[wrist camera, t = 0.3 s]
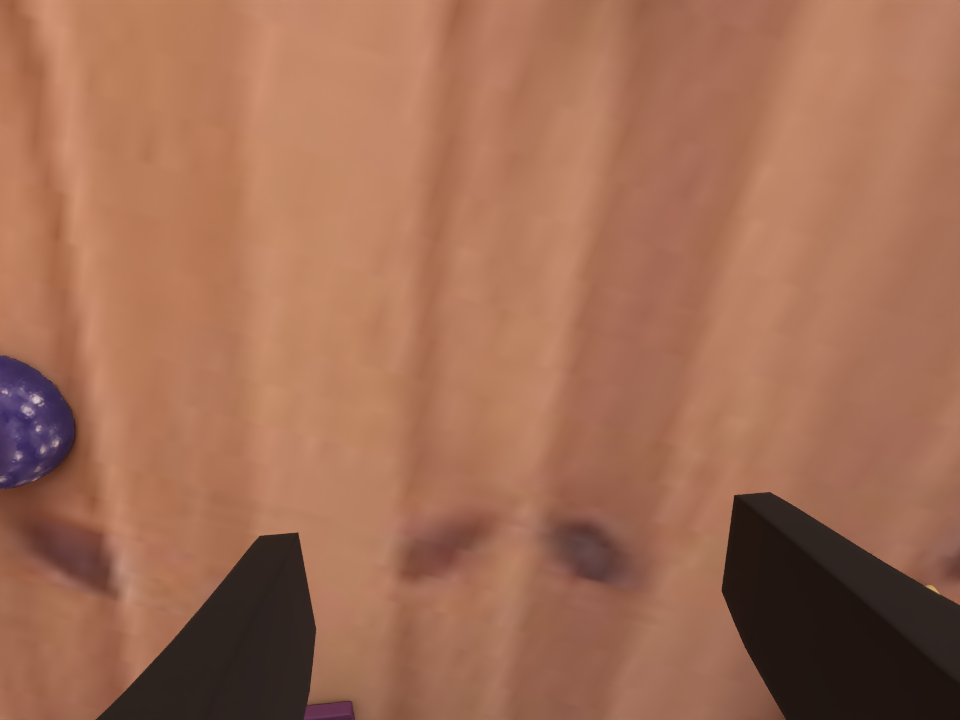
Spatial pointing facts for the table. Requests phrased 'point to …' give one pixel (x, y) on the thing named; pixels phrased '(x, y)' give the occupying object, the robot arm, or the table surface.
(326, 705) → the purple flat bar
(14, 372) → the toy lamp
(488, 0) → the table surface
